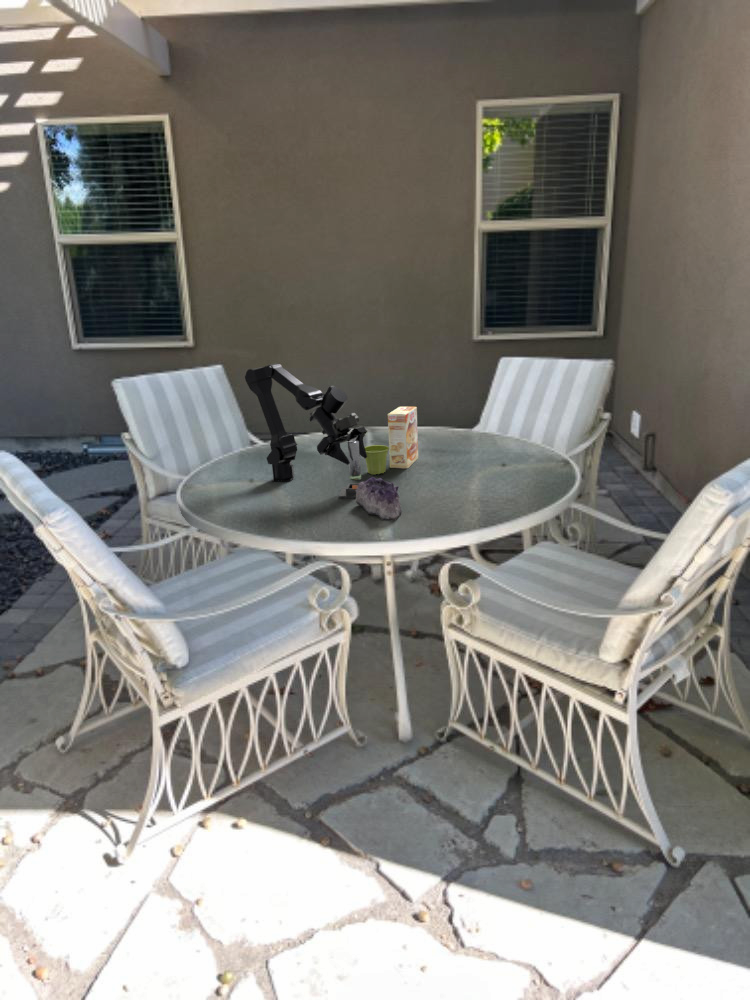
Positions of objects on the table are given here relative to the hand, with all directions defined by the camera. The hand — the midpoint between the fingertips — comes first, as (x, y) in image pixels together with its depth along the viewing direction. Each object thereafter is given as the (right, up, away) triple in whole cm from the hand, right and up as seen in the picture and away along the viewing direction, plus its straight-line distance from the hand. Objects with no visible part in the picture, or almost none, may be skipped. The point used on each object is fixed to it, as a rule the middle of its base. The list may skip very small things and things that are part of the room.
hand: (357, 460), depth 216 cm
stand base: (0, -10, +4) cm, 11 cm away
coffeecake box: (+16, +1, +37) cm, 40 cm away
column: (-1, -6, +3) cm, 7 cm away
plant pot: (+6, -3, +27) cm, 27 cm away
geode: (+8, -16, -12) cm, 21 cm away
